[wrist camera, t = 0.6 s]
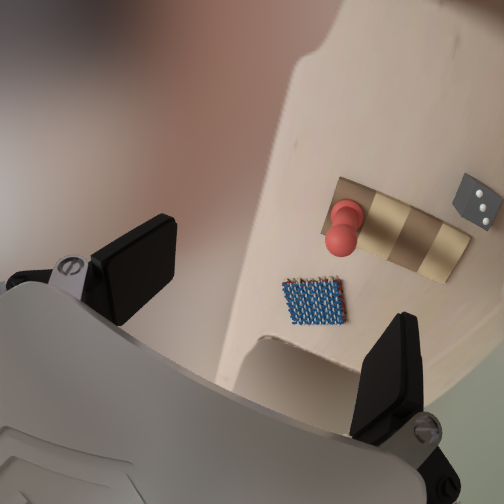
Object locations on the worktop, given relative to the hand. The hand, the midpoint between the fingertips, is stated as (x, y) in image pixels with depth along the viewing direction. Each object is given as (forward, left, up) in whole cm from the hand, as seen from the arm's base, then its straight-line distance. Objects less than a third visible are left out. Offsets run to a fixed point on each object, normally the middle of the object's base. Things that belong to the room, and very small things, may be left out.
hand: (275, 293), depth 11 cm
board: (+8, +11, -31) cm, 34 cm away
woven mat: (+26, +4, -32) cm, 41 cm away
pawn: (+8, +3, -30) cm, 31 cm away
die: (-2, +20, -31) cm, 37 cm away
